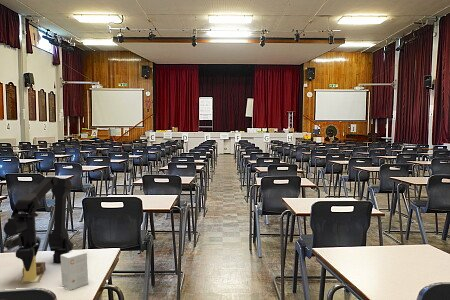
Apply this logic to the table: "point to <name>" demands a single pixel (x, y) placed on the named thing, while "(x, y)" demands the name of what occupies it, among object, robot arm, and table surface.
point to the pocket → (39, 268)
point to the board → (32, 280)
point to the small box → (74, 269)
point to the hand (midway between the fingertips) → (29, 267)
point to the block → (30, 271)
